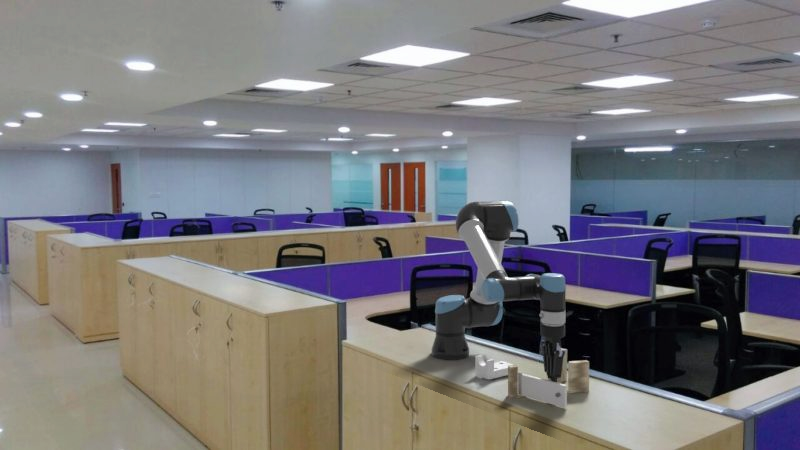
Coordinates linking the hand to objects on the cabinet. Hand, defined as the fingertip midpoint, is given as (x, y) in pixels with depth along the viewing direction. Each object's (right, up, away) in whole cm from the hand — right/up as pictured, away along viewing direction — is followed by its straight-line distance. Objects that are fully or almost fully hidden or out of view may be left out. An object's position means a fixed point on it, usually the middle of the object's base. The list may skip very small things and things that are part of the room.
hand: (552, 397), depth 191 cm
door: (-4, -1, -1) cm, 4 cm away
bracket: (-14, 0, +26) cm, 30 cm away
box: (+7, 0, +20) cm, 21 cm away
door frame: (+1, -1, +7) cm, 7 cm away
